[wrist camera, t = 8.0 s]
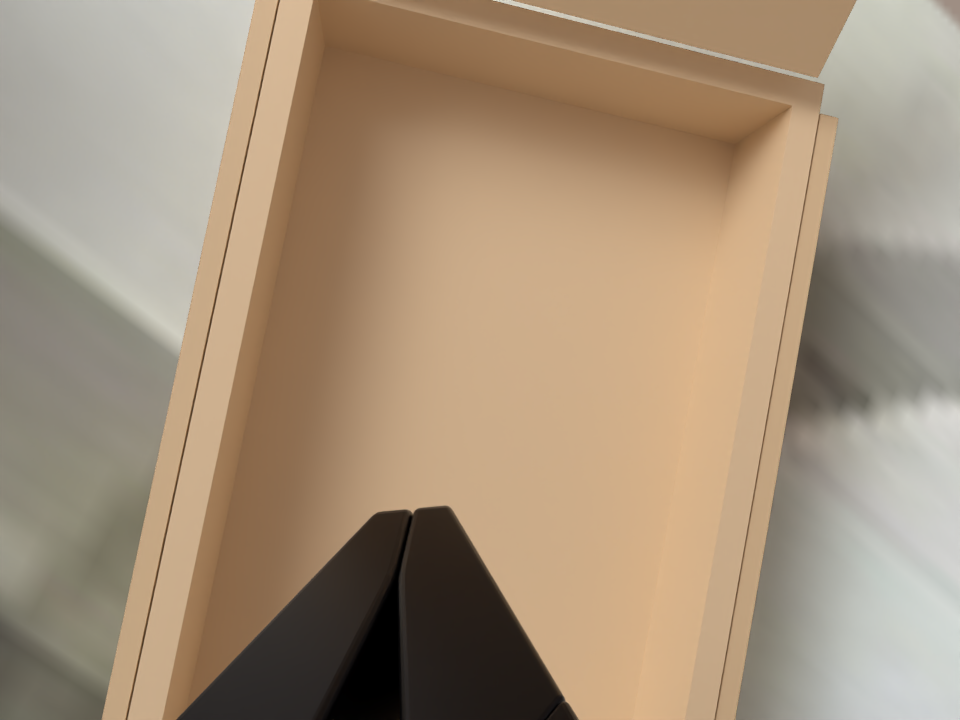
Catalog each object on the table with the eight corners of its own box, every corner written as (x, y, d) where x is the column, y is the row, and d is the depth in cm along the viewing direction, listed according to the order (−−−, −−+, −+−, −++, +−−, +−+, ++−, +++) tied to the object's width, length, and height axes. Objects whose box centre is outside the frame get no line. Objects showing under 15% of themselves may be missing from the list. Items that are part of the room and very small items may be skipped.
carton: (639, 904, 19) (687, 1001, 16) (110, 839, 17) (55, 931, 14) (774, 133, 20) (844, 89, 17) (285, 14, 18) (266, -57, 15)
